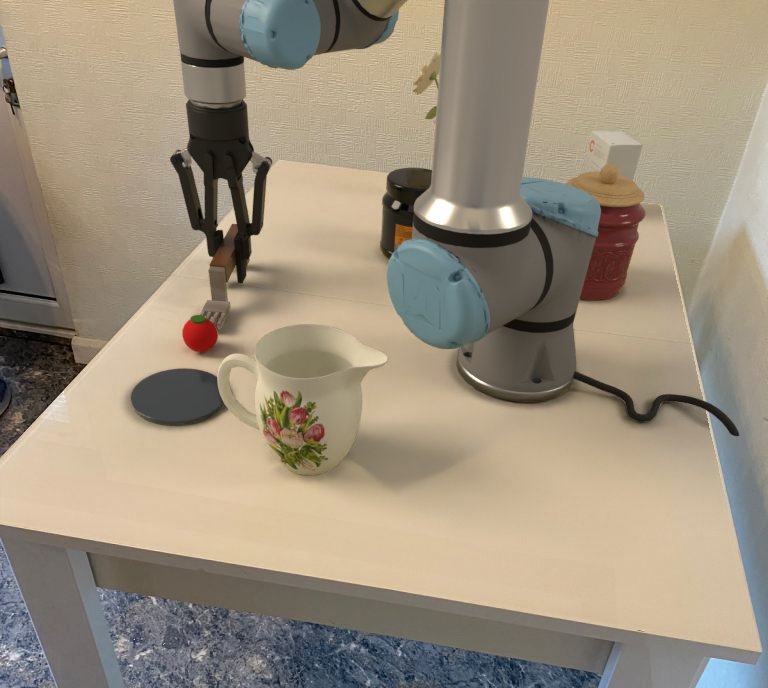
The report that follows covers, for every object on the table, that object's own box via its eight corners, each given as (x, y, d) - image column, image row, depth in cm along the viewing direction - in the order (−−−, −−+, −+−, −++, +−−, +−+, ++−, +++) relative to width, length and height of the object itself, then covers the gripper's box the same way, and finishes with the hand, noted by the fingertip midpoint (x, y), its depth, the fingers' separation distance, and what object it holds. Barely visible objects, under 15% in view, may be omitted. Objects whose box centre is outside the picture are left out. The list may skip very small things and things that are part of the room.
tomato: (226, 348, 96) (223, 316, 93) (202, 362, 93) (198, 330, 90) (201, 337, 97) (197, 306, 94) (177, 351, 94) (172, 319, 91)
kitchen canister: (536, 293, 112) (562, 173, 100) (543, 259, 121) (567, 144, 109) (622, 307, 110) (659, 186, 98) (623, 271, 120) (656, 156, 107)
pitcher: (244, 410, 86) (234, 301, 77) (393, 441, 83) (401, 332, 74) (203, 467, 78) (187, 354, 69) (366, 503, 75) (372, 390, 66)
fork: (231, 258, 113) (228, 223, 109) (252, 260, 113) (250, 225, 109) (196, 327, 97) (191, 288, 94) (220, 329, 97) (217, 290, 94)
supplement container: (440, 272, 116) (449, 194, 107) (374, 263, 116) (378, 185, 108) (446, 245, 123) (455, 170, 115) (384, 237, 124) (389, 162, 116)
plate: (246, 393, 88) (245, 389, 88) (179, 437, 82) (179, 433, 81) (179, 362, 93) (178, 358, 92) (111, 402, 86) (110, 397, 85)
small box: (622, 220, 136) (643, 144, 127) (591, 221, 135) (610, 145, 126) (603, 203, 142) (622, 130, 133) (573, 204, 140) (590, 130, 131)
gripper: (282, 96, 94) (288, 271, 110) (163, 87, 94) (187, 263, 110) (271, 113, 89) (279, 294, 105) (146, 103, 89) (173, 285, 105)
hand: (232, 278), depth 108 cm, fingers closed on fork, 2 cm apart
